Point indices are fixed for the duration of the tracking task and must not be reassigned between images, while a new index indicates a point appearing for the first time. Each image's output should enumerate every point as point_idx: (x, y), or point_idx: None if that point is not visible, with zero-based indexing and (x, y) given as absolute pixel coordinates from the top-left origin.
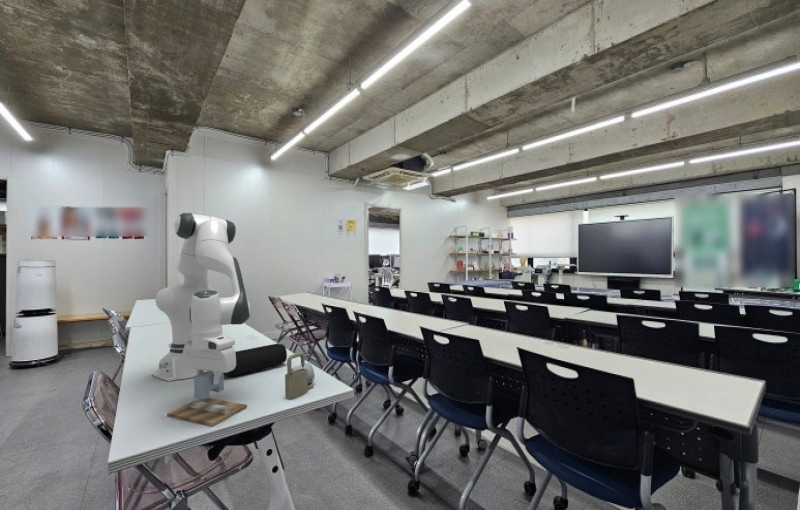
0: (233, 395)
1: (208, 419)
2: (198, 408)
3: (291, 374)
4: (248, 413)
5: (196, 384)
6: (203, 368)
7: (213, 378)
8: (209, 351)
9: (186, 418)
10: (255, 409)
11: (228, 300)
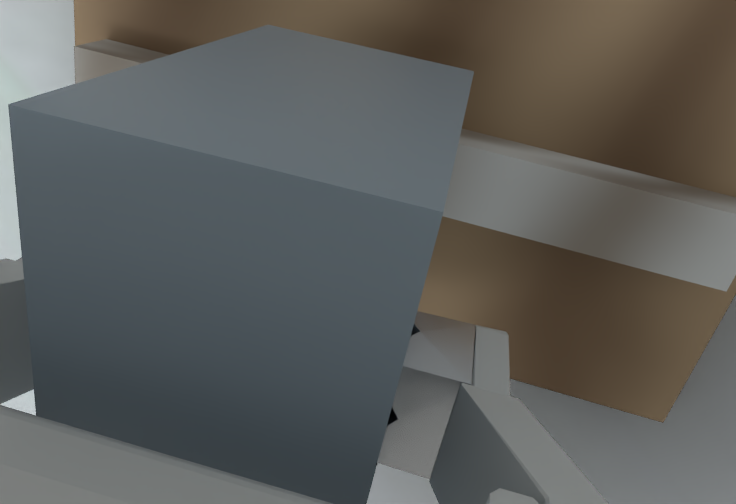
0: (405, 472)
1: None
2: (515, 144)
3: None
4: (3, 144)
5: (379, 112)
6: (106, 484)
7: (23, 275)
8: None
9: None
10: (10, 221)
11: None
